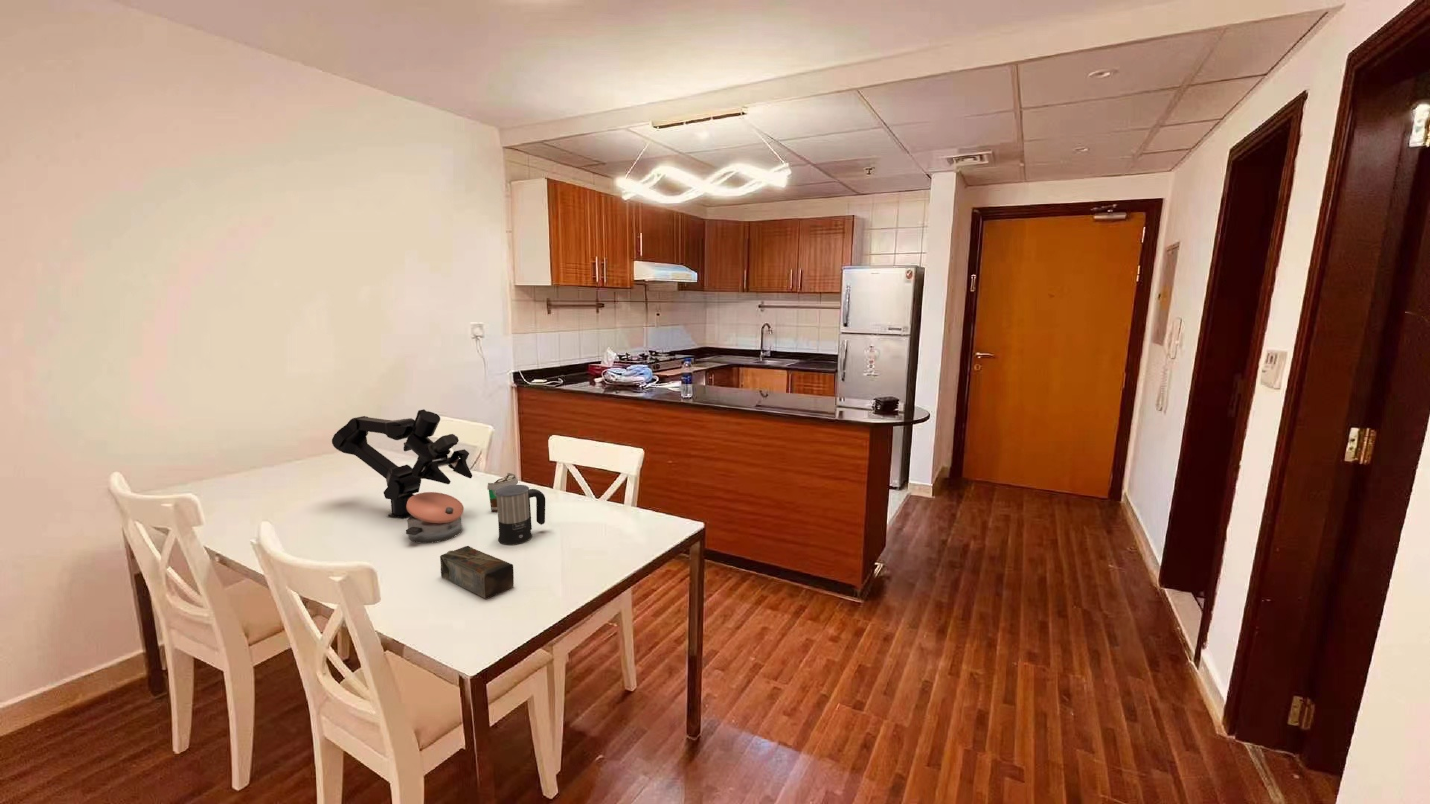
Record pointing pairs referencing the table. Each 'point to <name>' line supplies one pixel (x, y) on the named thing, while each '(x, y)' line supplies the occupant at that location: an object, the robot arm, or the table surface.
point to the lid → (434, 507)
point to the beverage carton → (477, 571)
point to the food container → (502, 482)
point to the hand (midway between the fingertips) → (460, 480)
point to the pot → (432, 530)
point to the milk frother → (517, 513)
